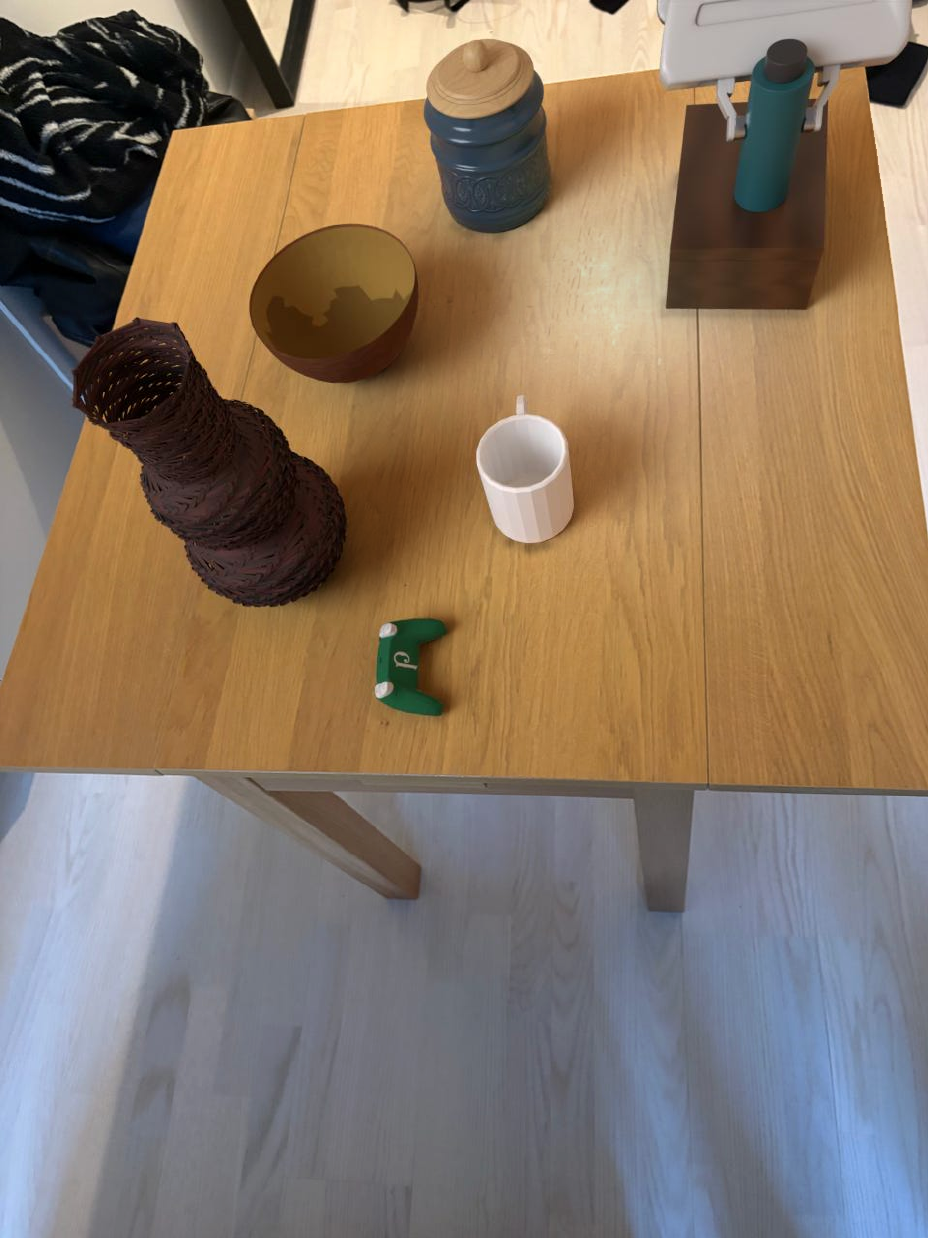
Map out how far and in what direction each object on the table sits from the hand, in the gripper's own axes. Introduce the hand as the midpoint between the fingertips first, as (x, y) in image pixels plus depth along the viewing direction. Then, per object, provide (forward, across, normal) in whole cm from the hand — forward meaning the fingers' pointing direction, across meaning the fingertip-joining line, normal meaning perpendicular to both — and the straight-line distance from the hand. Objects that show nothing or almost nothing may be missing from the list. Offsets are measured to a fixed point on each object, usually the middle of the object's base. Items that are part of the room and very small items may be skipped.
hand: (773, 135), depth 71 cm
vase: (+35, -46, -14) cm, 60 cm away
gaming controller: (+43, -32, -22) cm, 58 cm away
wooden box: (+8, -1, +13) cm, 15 cm away
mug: (+30, -22, -9) cm, 38 cm away
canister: (+1, -28, +20) cm, 34 cm away
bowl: (+17, -42, +4) cm, 46 cm away
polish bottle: (+4, 0, +5) cm, 7 cm away
